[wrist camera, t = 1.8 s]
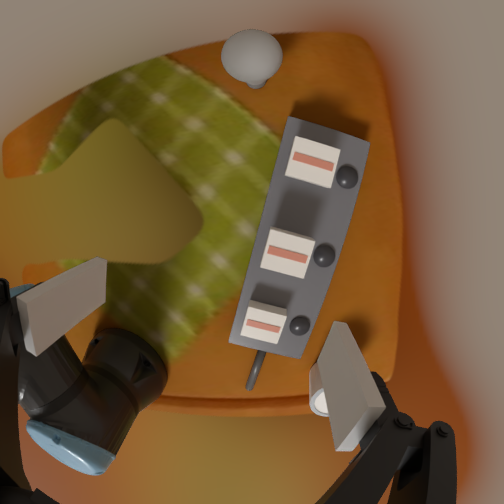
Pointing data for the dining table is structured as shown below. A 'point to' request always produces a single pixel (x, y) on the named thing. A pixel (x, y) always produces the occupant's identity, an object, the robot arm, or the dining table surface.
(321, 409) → the white cup
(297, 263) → the middle switch
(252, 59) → the lightbulb
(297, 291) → the power strip
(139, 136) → the dining table surface
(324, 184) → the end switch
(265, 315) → the cord end switch
